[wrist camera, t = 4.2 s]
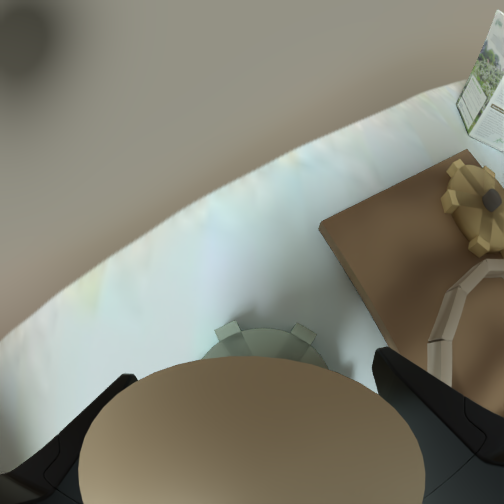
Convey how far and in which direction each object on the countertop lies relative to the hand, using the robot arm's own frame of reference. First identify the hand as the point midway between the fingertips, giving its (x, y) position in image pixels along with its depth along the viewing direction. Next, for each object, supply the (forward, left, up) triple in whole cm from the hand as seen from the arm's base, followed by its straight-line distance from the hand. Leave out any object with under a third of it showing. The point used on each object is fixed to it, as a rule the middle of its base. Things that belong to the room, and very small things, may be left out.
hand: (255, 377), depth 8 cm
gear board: (-9, -15, -7) cm, 19 cm away
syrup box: (+8, -31, -7) cm, 33 cm away
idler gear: (-1, +1, -7) cm, 7 cm away
